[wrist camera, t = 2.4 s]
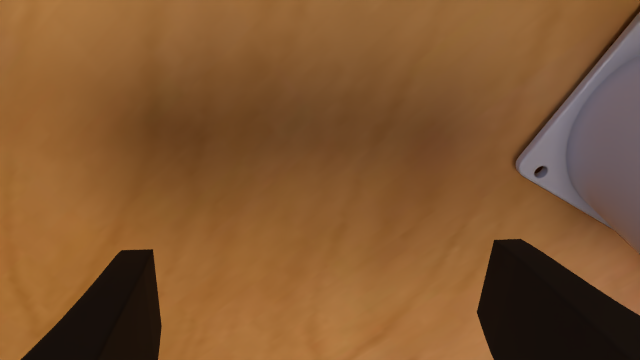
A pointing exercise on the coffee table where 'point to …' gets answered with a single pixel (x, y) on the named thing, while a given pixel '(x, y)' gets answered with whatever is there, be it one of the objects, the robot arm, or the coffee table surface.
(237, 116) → the coffee table surface
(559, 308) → the robot arm
